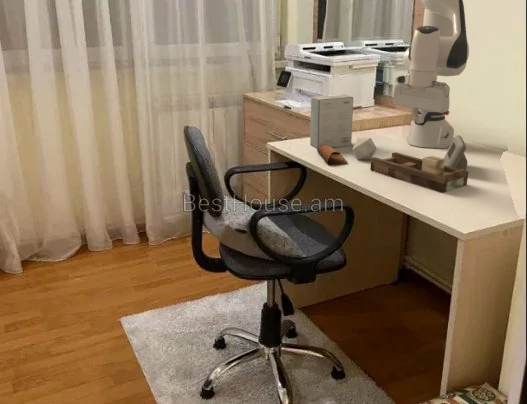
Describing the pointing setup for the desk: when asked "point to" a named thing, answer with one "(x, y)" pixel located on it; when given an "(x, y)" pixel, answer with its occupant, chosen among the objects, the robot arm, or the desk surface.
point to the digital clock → (456, 154)
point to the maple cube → (433, 165)
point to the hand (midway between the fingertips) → (418, 122)
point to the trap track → (419, 172)
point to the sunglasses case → (331, 155)
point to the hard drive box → (331, 120)
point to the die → (364, 148)
